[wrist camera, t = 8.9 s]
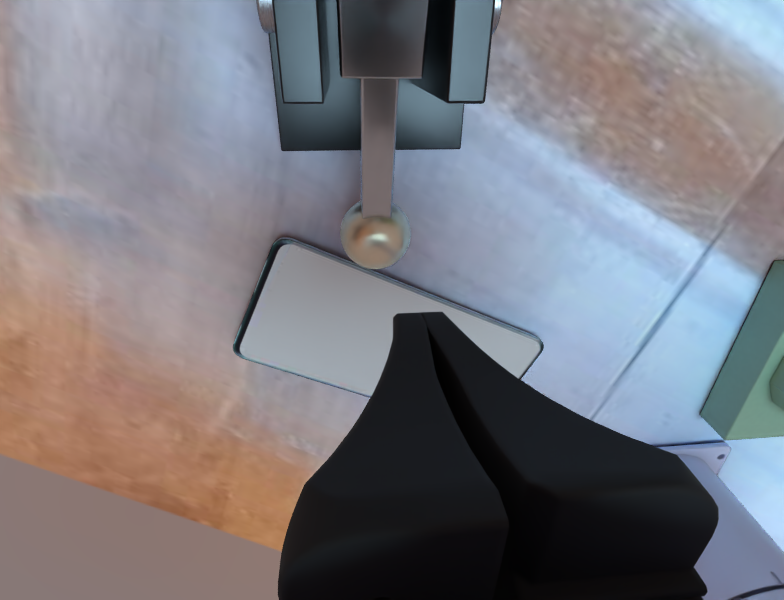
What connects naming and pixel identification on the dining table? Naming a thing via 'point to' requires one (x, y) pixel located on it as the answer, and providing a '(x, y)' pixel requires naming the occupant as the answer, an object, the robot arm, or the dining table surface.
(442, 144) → the switch bracket
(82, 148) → the dining table surface
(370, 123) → the switch lever
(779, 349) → the control block
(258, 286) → the smartphone
